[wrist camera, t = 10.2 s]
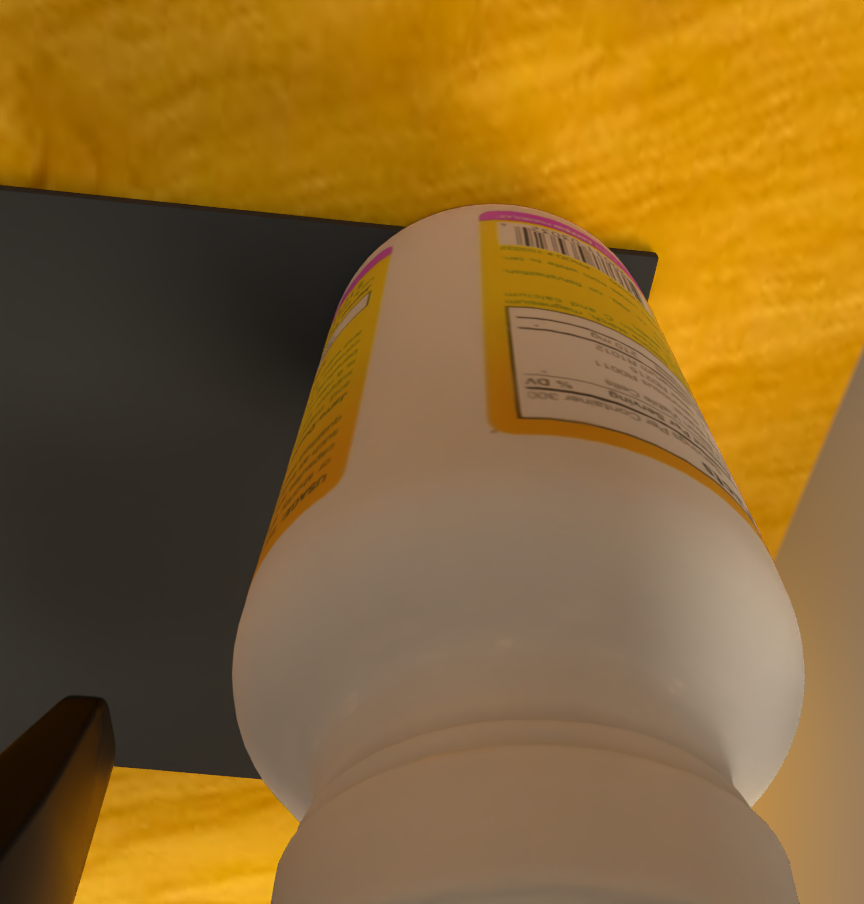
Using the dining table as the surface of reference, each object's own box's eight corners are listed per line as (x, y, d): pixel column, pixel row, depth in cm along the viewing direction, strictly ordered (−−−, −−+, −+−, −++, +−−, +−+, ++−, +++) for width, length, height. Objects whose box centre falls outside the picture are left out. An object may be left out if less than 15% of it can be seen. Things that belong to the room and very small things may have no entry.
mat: (656, 252, 16) (659, 257, 16) (520, 794, 26) (521, 802, 26) (-253, 159, 16) (-264, 162, 16) (-46, 744, 26) (-51, 752, 26)
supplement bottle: (389, 503, 20) (298, 1203, 9) (286, 245, 16) (-58, 877, 6) (670, 442, 19) (949, 1167, 8) (621, 149, 15) (1002, 722, 4)
